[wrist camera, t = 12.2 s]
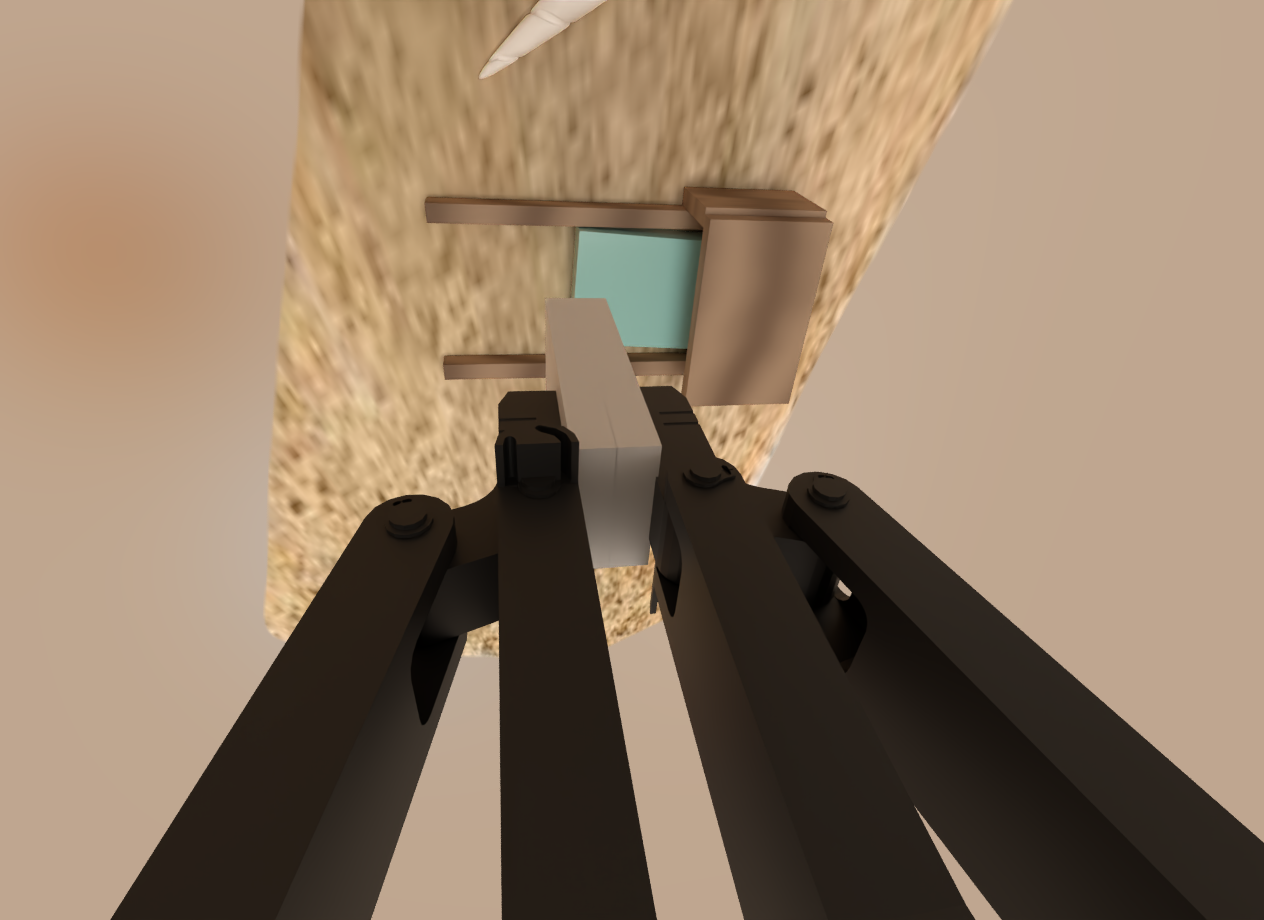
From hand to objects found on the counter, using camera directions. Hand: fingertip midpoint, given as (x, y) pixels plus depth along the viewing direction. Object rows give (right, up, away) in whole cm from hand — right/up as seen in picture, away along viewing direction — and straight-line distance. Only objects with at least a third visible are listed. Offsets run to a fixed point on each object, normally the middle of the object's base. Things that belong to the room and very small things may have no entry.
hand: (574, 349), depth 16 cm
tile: (+3, +10, +31) cm, 32 cm away
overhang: (0, +10, +30) cm, 31 cm away
